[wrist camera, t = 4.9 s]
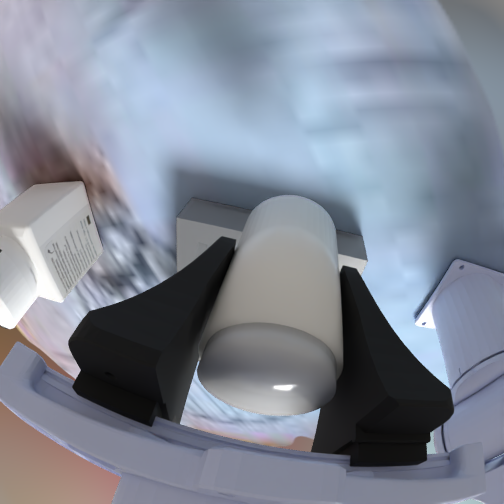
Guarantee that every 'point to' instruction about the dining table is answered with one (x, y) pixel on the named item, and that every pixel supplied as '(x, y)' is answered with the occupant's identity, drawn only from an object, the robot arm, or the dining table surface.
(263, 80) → the dining table surface
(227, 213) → the tray
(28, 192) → the container
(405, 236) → the dining table surface
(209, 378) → the shaker
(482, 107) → the dining table surface
